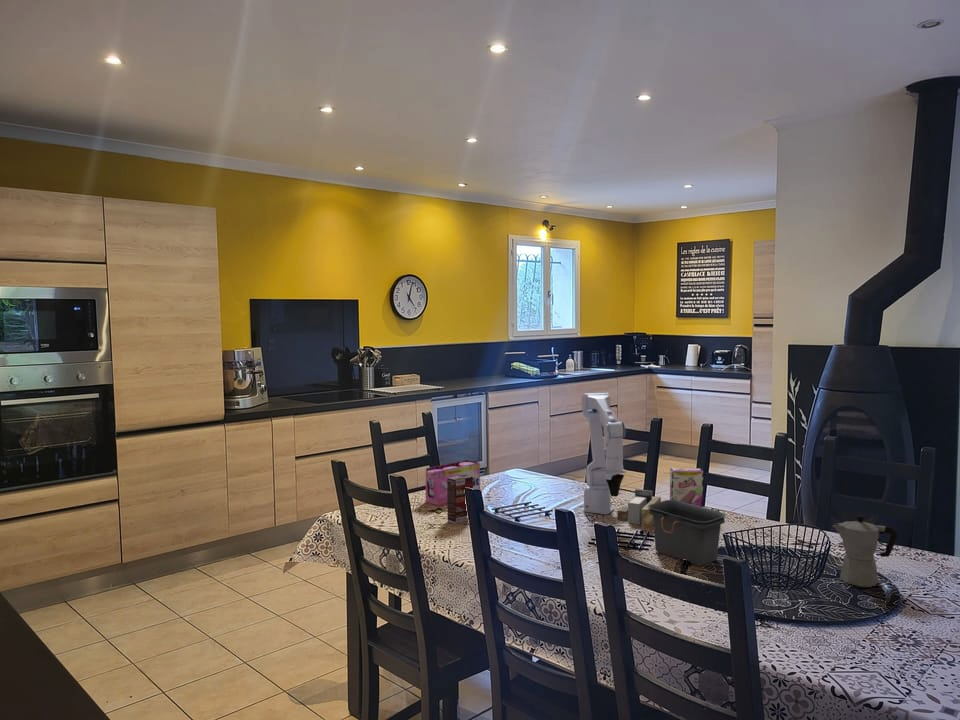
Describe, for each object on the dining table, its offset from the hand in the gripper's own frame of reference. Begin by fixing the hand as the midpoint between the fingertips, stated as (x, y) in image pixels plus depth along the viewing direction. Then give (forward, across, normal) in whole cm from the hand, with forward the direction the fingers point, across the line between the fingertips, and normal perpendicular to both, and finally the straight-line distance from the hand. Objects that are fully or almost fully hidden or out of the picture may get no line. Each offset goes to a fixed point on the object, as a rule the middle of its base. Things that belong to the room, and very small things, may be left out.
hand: (614, 495), depth 237 cm
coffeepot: (+11, -19, -75) cm, 78 cm away
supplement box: (+11, -18, +51) cm, 55 cm away
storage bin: (+11, -21, -28) cm, 37 cm away
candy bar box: (+11, +25, -19) cm, 33 cm away
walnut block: (+10, +11, 0) cm, 15 cm away
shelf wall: (+10, +9, -10) cm, 17 cm away
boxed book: (+10, +11, -5) cm, 16 cm away
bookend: (+10, +17, -6) cm, 21 cm away
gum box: (+11, +7, +69) cm, 70 cm away
